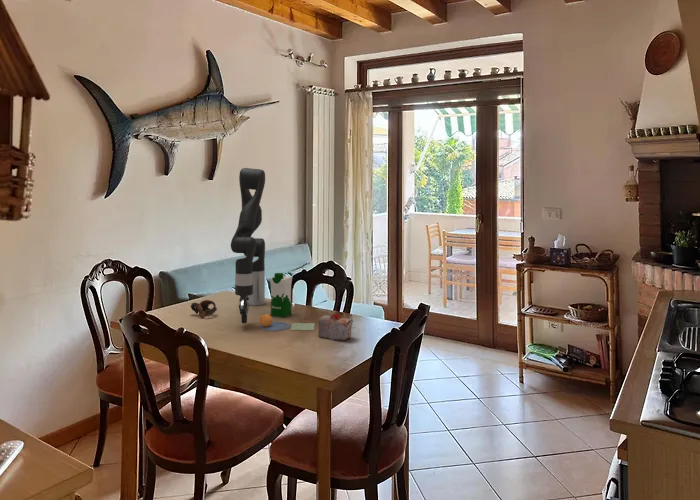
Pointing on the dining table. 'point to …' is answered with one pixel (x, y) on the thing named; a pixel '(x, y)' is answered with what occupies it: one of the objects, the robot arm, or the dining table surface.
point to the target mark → (276, 326)
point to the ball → (265, 320)
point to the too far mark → (302, 326)
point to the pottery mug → (203, 308)
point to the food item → (335, 327)
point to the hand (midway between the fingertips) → (244, 322)
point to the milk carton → (280, 295)
